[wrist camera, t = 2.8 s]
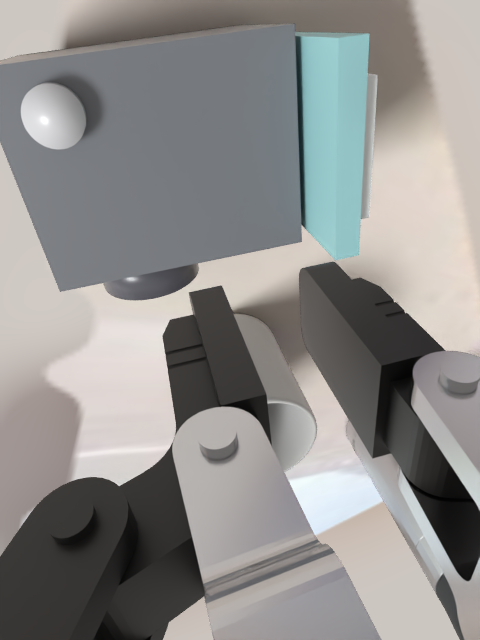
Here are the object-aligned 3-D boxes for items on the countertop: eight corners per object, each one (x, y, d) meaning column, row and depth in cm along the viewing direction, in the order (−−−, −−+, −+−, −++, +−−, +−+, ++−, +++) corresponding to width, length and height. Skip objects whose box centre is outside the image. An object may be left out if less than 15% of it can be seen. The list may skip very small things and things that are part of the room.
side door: (281, 29, 27) (389, 30, 16) (288, 177, 32) (374, 251, 21) (249, 33, 27) (338, 37, 16) (261, 182, 32) (335, 260, 21)
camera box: (244, 24, 27) (306, 22, 18) (261, 224, 34) (312, 292, 25) (17, 55, 25) (-35, 70, 16) (87, 259, 32) (77, 345, 24)
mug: (198, 303, 37) (225, 392, 28) (288, 321, 40) (338, 405, 31) (161, 410, 42) (174, 513, 33) (243, 417, 45) (275, 513, 36)
